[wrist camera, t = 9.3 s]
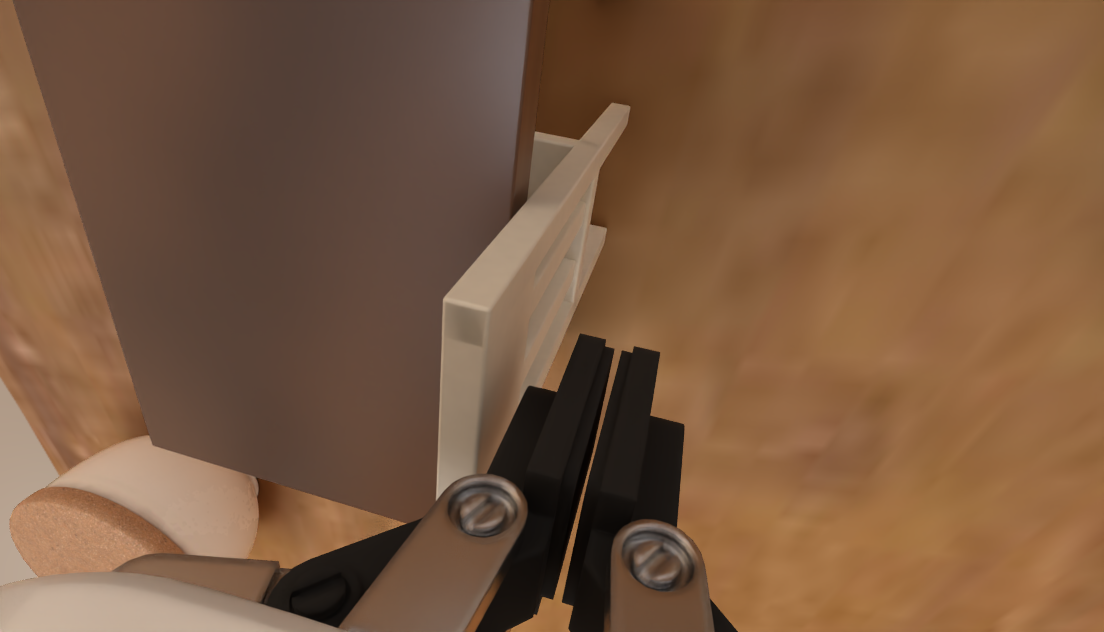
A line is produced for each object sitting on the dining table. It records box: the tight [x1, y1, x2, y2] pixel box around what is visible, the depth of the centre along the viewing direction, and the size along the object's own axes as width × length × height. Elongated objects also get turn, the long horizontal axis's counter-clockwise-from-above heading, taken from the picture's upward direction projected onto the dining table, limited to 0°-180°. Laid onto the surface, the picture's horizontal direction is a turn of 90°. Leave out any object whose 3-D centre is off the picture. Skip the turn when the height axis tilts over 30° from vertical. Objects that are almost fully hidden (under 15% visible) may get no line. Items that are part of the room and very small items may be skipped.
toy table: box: [13, 0, 550, 523], centre depth 20 cm, size 12×17×13 cm
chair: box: [436, 103, 630, 500], centre depth 18 cm, size 7×6×17 cm
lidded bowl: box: [10, 435, 259, 577], centre depth 38 cm, size 13×13×11 cm
